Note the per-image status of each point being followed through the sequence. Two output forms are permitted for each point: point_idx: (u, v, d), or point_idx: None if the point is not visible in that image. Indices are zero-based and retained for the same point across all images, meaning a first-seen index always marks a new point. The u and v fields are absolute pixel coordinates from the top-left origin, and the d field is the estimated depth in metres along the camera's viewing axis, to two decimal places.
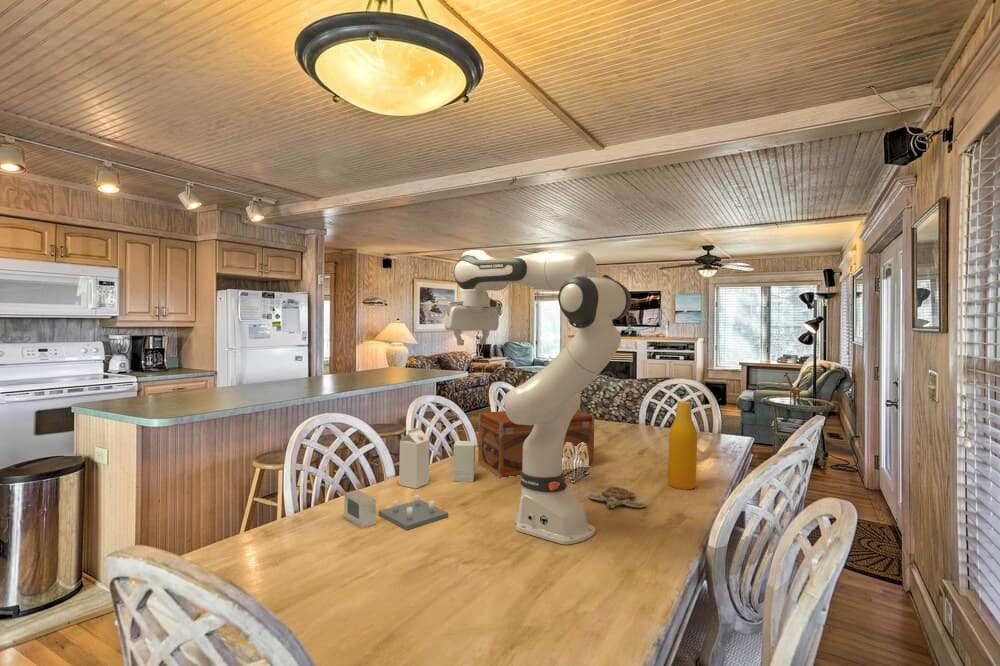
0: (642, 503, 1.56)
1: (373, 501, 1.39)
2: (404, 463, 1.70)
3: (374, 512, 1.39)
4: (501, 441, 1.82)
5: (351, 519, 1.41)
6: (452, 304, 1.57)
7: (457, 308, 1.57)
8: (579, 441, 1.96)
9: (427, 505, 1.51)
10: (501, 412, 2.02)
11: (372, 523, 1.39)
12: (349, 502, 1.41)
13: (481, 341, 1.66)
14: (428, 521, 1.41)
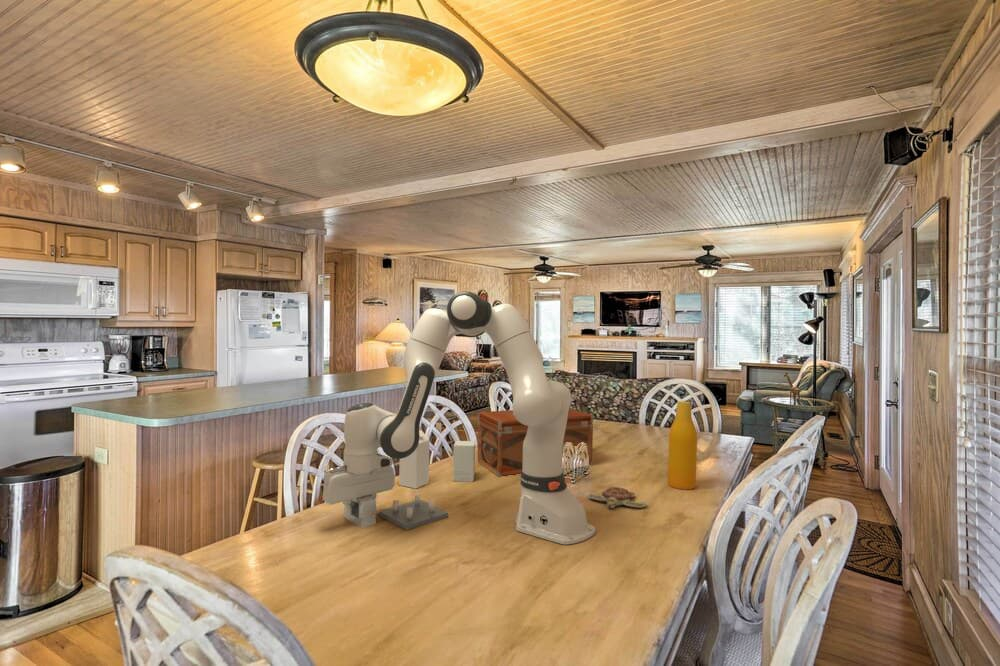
0: (642, 503, 1.56)
1: (373, 501, 1.39)
2: (404, 463, 1.70)
3: (374, 512, 1.39)
4: (500, 440, 1.83)
5: (351, 519, 1.41)
6: (331, 473, 1.35)
7: (337, 478, 1.35)
8: (578, 440, 1.97)
9: (427, 505, 1.51)
10: (500, 411, 2.03)
11: (372, 523, 1.39)
12: None
13: None
14: (428, 521, 1.41)
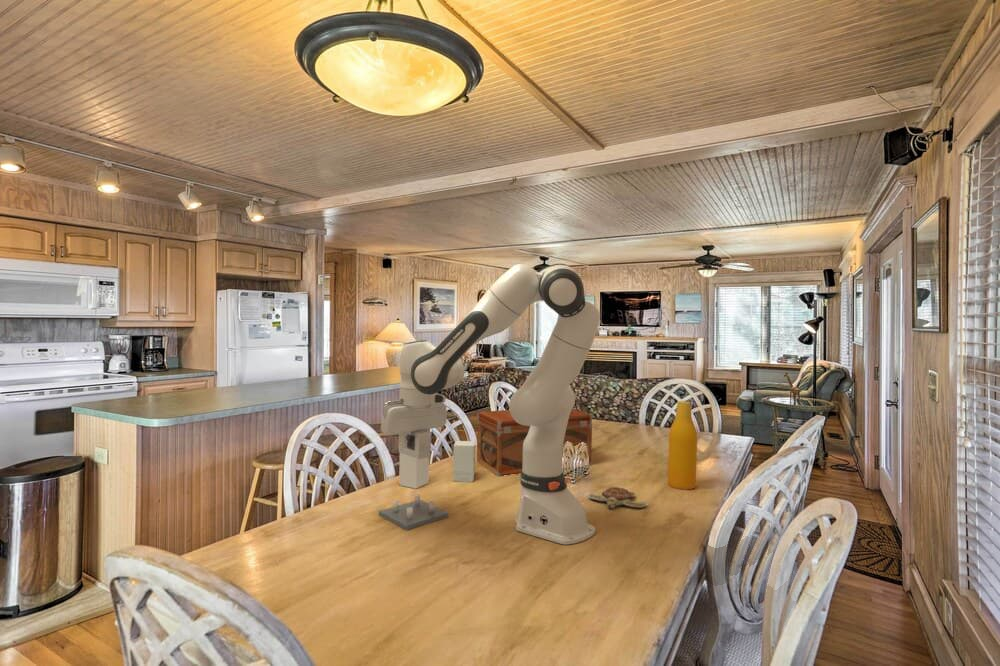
0: (642, 503, 1.56)
1: (428, 434, 1.42)
2: (404, 463, 1.70)
3: (429, 444, 1.43)
4: (499, 440, 1.84)
5: (406, 452, 1.44)
6: (389, 405, 1.38)
7: (395, 409, 1.38)
8: (577, 440, 1.98)
9: (427, 505, 1.51)
10: (500, 411, 2.04)
11: (427, 455, 1.42)
12: None
13: None
14: (428, 521, 1.41)
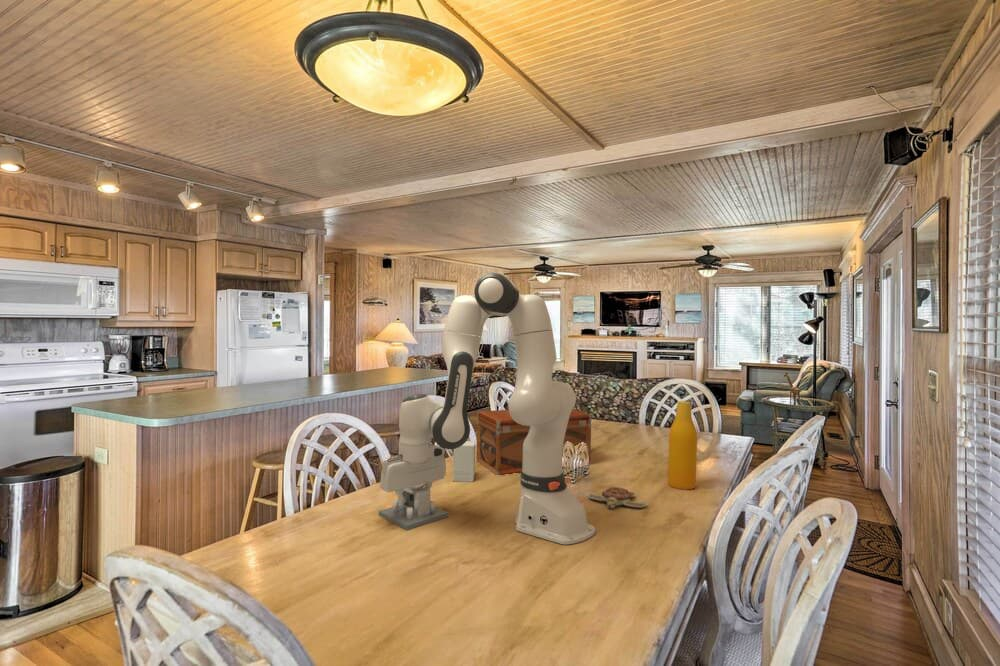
0: (642, 503, 1.56)
1: (428, 492, 1.43)
2: None
3: (429, 503, 1.43)
4: (498, 439, 1.84)
5: (406, 510, 1.45)
6: (389, 461, 1.39)
7: (394, 466, 1.39)
8: (576, 440, 1.99)
9: None
10: (499, 411, 2.05)
11: (427, 514, 1.43)
12: (404, 493, 1.45)
13: None
14: (428, 521, 1.41)
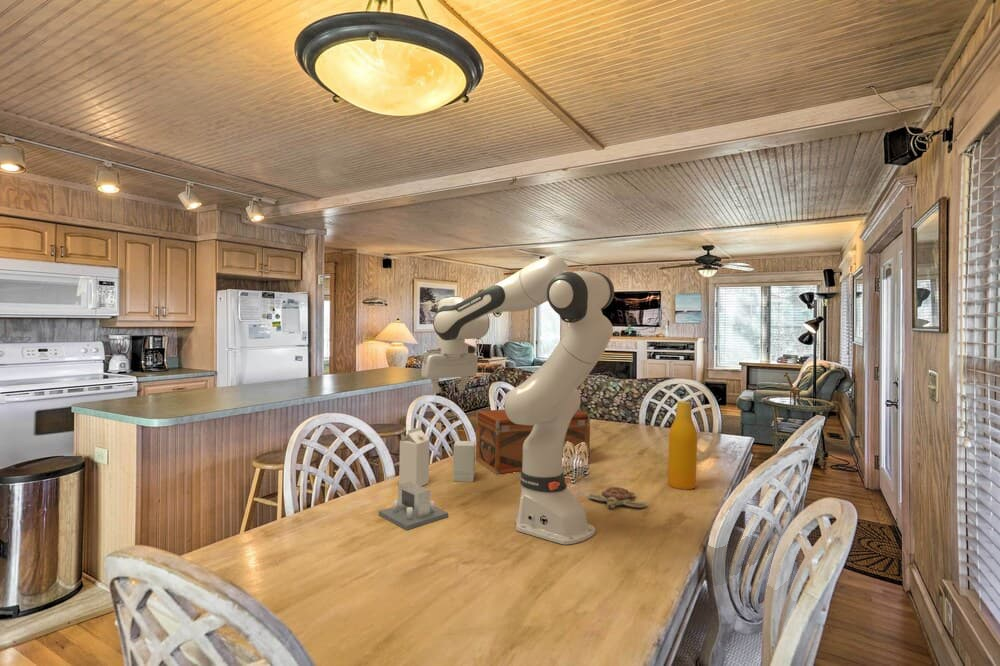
0: (642, 503, 1.56)
1: (428, 492, 1.43)
2: (404, 463, 1.70)
3: (429, 503, 1.43)
4: (497, 439, 1.85)
5: (406, 510, 1.45)
6: (429, 352, 1.56)
7: (434, 356, 1.55)
8: (575, 439, 2.00)
9: None
10: (498, 410, 2.05)
11: (427, 514, 1.43)
12: (404, 493, 1.45)
13: (459, 387, 1.65)
14: (428, 521, 1.41)
